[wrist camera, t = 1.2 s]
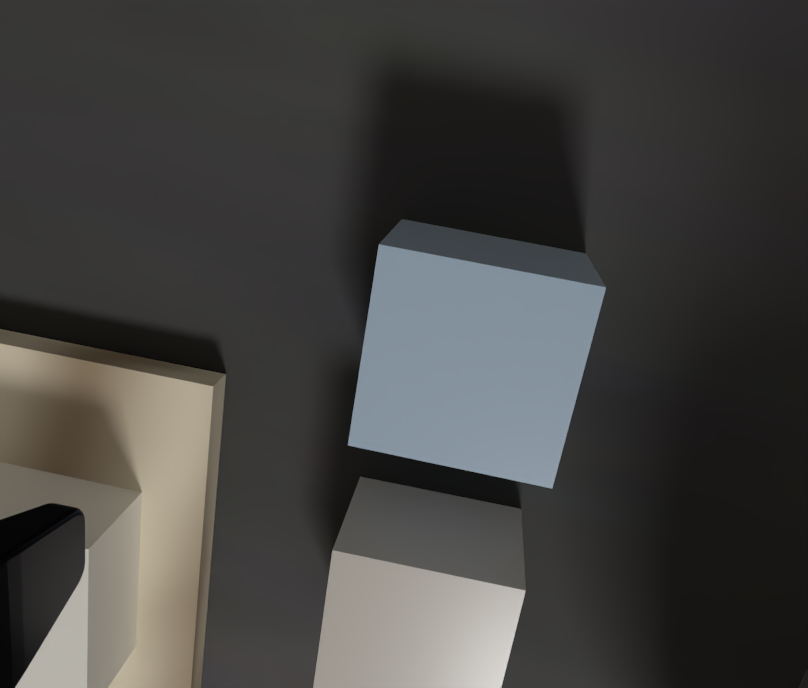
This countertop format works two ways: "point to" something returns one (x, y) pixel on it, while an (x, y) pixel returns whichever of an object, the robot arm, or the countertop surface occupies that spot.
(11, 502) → the lower brick
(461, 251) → the middle brick
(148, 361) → the base plate
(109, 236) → the countertop surface
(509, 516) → the top brick
